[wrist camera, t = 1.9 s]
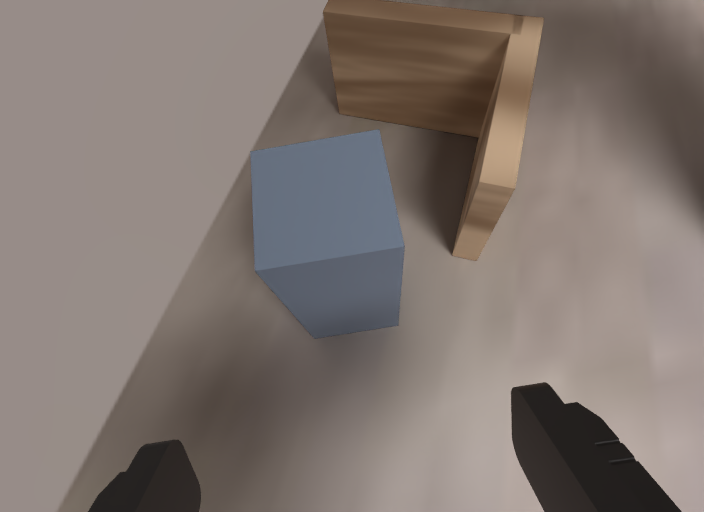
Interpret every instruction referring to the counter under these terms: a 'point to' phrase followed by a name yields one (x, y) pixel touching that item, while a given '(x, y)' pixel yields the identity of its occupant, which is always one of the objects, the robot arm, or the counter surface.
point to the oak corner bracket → (442, 87)
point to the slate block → (329, 232)
